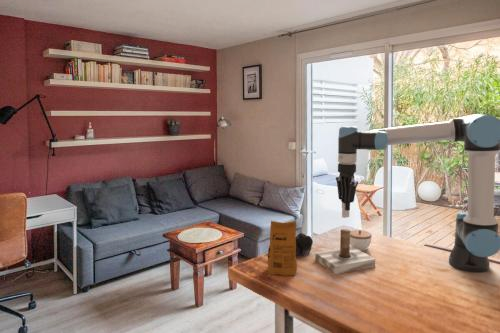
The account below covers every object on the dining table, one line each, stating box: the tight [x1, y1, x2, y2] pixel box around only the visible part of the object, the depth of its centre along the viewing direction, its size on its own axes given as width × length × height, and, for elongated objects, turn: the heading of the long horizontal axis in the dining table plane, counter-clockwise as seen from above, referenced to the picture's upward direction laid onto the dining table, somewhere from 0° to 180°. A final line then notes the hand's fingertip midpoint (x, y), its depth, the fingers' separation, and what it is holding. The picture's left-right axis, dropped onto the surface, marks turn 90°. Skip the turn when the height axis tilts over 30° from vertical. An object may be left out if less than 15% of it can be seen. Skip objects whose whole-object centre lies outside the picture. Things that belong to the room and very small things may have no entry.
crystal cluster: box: [296, 233, 313, 258], centre depth 177 cm, size 13×14×10 cm
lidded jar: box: [350, 229, 372, 252], centre depth 181 cm, size 11×11×9 cm
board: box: [314, 246, 376, 275], centre depth 164 cm, size 16×20×4 cm
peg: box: [339, 228, 351, 258], centre depth 163 cm, size 4×4×15 cm
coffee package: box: [267, 220, 298, 277], centre depth 156 cm, size 10×12×22 cm
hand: (345, 216), depth 161 cm, fingers closed
